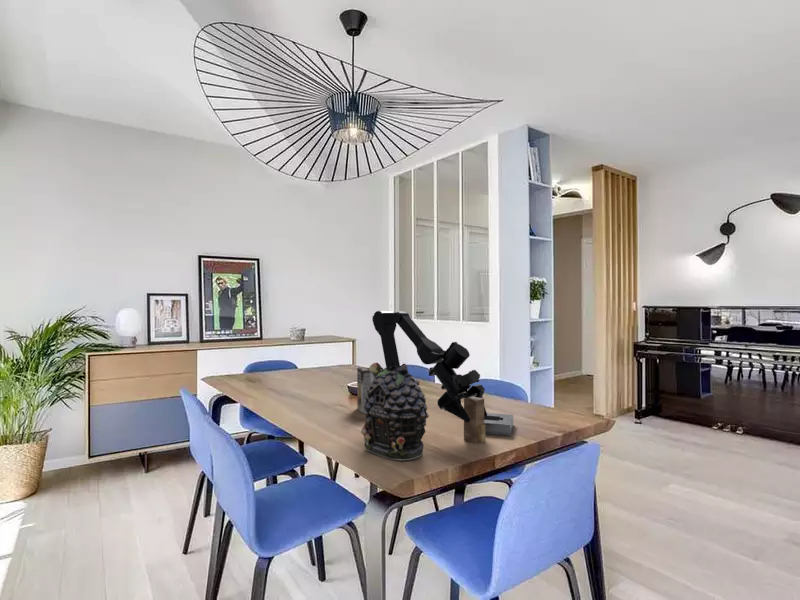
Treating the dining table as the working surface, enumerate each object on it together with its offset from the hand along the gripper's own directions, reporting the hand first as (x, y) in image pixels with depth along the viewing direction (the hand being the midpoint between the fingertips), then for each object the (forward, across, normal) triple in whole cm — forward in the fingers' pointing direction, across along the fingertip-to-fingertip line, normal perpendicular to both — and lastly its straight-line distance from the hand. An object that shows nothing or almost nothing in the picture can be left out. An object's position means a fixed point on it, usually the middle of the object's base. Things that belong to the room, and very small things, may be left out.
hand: (477, 418), depth 136 cm
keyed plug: (+4, 0, +6) cm, 7 cm away
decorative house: (-3, -25, +13) cm, 28 cm away
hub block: (+1, +14, +8) cm, 16 cm away
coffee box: (-33, +4, +42) cm, 54 cm away
